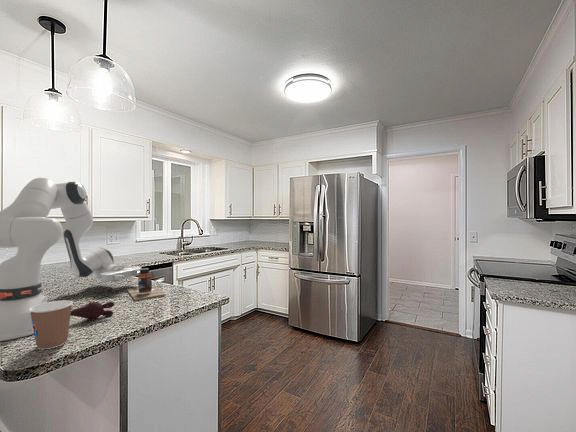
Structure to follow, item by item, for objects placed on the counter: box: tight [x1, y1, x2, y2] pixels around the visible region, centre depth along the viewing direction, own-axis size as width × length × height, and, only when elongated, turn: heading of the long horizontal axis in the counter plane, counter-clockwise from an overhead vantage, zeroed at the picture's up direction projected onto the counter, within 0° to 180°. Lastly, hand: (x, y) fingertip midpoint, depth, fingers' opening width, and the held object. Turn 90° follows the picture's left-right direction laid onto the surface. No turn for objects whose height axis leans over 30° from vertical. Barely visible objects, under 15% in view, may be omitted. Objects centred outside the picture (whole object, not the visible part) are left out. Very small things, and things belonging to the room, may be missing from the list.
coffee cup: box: [29, 299, 74, 351], centre depth 86 cm, size 10×10×12 cm
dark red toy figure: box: [70, 301, 115, 322], centre depth 106 cm, size 7×7×15 cm
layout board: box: [126, 284, 166, 302], centre depth 141 cm, size 22×13×1 cm, turn 38°
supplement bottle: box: [137, 267, 153, 293], centre depth 141 cm, size 6×6×11 cm
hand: (131, 275), depth 146 cm, fingers open, 8 cm apart
